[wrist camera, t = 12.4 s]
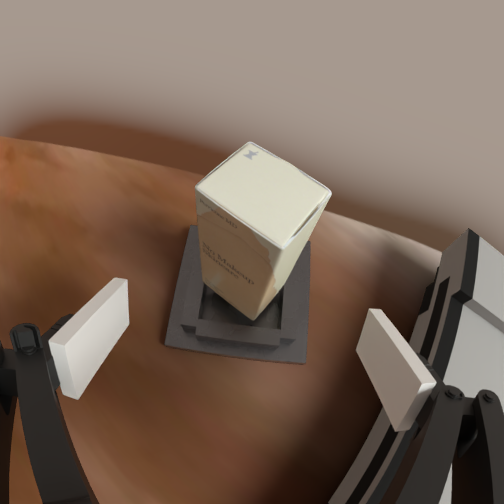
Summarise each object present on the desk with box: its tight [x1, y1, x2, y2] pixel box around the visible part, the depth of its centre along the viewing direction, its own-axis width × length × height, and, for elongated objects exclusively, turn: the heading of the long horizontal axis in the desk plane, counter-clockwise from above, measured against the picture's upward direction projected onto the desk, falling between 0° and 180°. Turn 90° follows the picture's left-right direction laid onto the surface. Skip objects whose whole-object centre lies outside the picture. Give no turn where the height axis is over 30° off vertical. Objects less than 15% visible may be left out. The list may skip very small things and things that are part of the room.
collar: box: [164, 225, 310, 365], centre depth 24 cm, size 11×11×3 cm
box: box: [195, 142, 332, 320], centre depth 18 cm, size 5×4×11 cm
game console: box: [327, 228, 504, 504], centre depth 16 cm, size 21×32×8 cm, turn 148°
